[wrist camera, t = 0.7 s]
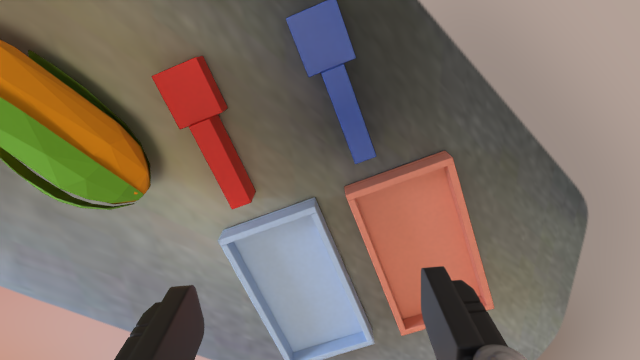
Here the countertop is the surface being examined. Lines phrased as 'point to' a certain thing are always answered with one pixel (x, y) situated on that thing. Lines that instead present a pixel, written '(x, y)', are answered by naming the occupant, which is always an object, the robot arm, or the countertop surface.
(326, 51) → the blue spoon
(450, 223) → the red tray
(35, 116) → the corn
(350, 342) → the blue tray
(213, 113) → the red paddle block
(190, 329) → the robot arm
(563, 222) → the countertop surface
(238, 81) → the countertop surface
